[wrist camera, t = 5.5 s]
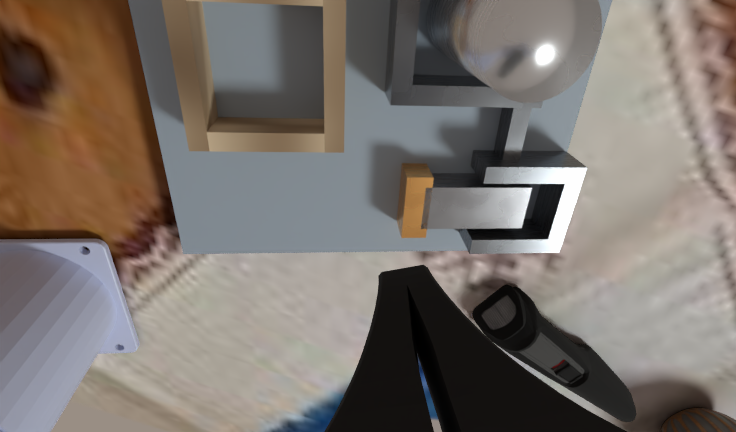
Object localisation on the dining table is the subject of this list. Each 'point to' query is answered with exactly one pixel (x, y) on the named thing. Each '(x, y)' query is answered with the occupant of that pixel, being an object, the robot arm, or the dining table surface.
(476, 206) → the key
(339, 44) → the brown piece
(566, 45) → the frosted capsule tube
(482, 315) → the electric trimmer
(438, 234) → the board
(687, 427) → the vase
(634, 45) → the dining table surface
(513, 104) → the socket
